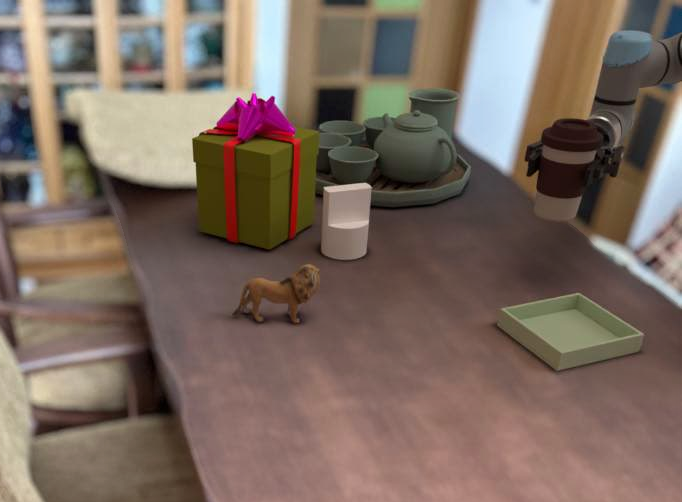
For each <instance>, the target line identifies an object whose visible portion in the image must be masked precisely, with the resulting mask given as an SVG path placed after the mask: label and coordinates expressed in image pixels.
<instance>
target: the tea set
mask: <svg viewBox="0 0 682 502" xmlns="http://www.w3.org/2000/svg"><path fill="white" fill-rule="evenodd" d="M408 99H409V100H410V109H409V112H404V113H401V114H399V115H397V116H396V117H394V116H393V117H392V116H390V115H389V113H388V112H385V113H384V114H383V115H382V116H374V117H369V118H366V119H364V120H363V121H362V123H359V122H358V121H351V120H330V121H325V122H323V123H320V124H319V126H318V129H319V130H318V131H319V154H318V155H317V156H316V182H315V194H318V195H321V196H323V194H324V187H330V186H339V185H349V184H358V183H367V184H369V185H370V186H371V187H372V190H371V202H370V206H373V207H385V208H399V207H401V208H402V207H410V206H411V207H412V206H422V205H432V204H435V203H438V202H441V201H444V200H446V199H449V198H452V197H455V196H457V195H460V194H461V193H462V192H463V190H464V187H465V185H466V184H467V182H468V180H469V178H470V176H471V172H472V166H471V165H470V164H469V163H468V162H467V161H466V160H465V159H464V158H463V157H462V156H461V155H460V154H459V153H457V149H456V145H455V144H454V142H453V139H452V138H453V133H454V125H455V119H456V111H457V104H458V101H459V100H460V99H461V95H460V93H459V92H457V91H454V90H451V89H446V88H438V87H437V88H436V87H424V88H417V89H413V90H411V91H410V92H409V96H408ZM364 134H365V137H364Z"/></svg>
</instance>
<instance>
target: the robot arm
mask: <svg viewBox="0 0 682 502" xmlns="http://www.w3.org/2000/svg"><path fill="white" fill-rule="evenodd" d="M681 82H682V31H681V32H679V33H676V34H675V35H673V36H671V37H668V38H665V39H658V40H653V36H652V35H651V34H650V33H648V32H646V31H642V30H617V31H615V32H613V33H612V34H611V35H610V36H609V38H608V41H607V45H606V49H605V52H604V55H603V56H602V63H601V67H600V72H599V76H598V80H597V85H596V89H595V94H594V98H593V100H592V105H591V109H590V113H589V116H588V118H586V119H585V120H588V121H590V122H593V123H595V125H596V127H597V131H598V132H600V133H601V134H602V135H603V137H604V139H603V143H602V146H601V148H600V149H598V150H597V151H596V154H595V157H594V158H595V161H594V162H593V163H592V164H591V165H590V166H589V167H588V168H587V169H586V173H585V177H584V181H583V185H582V187H586V188H588V186H590V185H591V184H592V183H593V182H594V180H595V179H597V180H599V179H601V178H603V177H605V176H606V175H609V177H610V178H616V177H618V173H619V169H620V166H621V163H622V161H623V157H624V154H625V150H626V146H624V145H619V144H620V143H622V142H623V141H624V140H625V139H626V138H627V136H628V135H629V134H630V132H631V130H632V128H633V125H634V120H635V116H634V115H635V114H634V109H635V105H636V102H637V97H638V94H639V91H640V89H643V88H650V87H655V86H656V87H657V86H663V85H669V84H671V85H672V84H679V83H681ZM543 145H544V144H542V142H541V139H540V140H538V141H535V142H532V143H531V144H527V146H526V150H525V155H524V162H527V171H526V176H525V177H527V178H531V177H532V176H533V175H534V174H536V173H538V170H539V163H540V156H541V153H542V152H543ZM617 145H619V146H617Z"/></svg>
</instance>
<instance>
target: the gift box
mask: <svg viewBox="0 0 682 502" xmlns="http://www.w3.org/2000/svg"><path fill="white" fill-rule="evenodd" d="M275 101H276V96H274V95H271V96H270V97H269V98H268V99H267V100H265V99H264V98H261V97H258V96H257V93H256V92H252V94H251V97H250V99H249V100H247V102H246V101H245V100H243V99H242V98H241V97H240V96H237V97H236V98H235V101H234V103H232V105H231V106H230V107H229V108H228V109H227V110H226V111H225V113H224V114H223V115H222V116H221V117H220V118H219V119H218V121H217V122H215V123H216V124H215V125H216V126H214V127H213V128H209V129H206V130H204V131H201V132H199V134H198V135H197V136H195V137H193V138H192V139H191V143H192V159H193V160H192V161H193V163H195V179H196V181H195V182H196V198H197V217H198V218H197V219H198V231H199V232H201V233H204V234H209V235H212V236H216V237H220V238H224V239H227V241H228V242H231V243H235V244H241V243H243V244H246V245H250V246H253V247H258V248H262V249H265V250H272V249H273V248H275V247H277V246H279V245H280V244H282V243H283V242H285V241H290V240H291V239H293V238H295V237H296V235H297V234H298V233H299V232H301V231H302V230H304V229H306V228H307V227H309V226H310V225H312V224H314V223H315V207H316V205H315V204H316V192H315V182H316V156H317V155H318V154H319V133H320V130H315V129H309V128H304V127H299V126H294V125H293V124H292V123H291V122H290V120H289V119H288V118H287V117H286V116H285V114H284V113H283V111H282V110H281V109H280V108H279V106H278V105H277V104H276V103H275Z"/></svg>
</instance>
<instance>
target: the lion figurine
mask: <svg viewBox="0 0 682 502" xmlns="http://www.w3.org/2000/svg"><path fill="white" fill-rule="evenodd" d="M320 280H321V279H320V269H319V268H317V267H316V266H315V265H313V264H310V263H308V264H307V263H306V264H303V265H302V266H299V268H298V270H297V271H296V272H294V273H293V274H290V275H289V276H288V277H285V279H283V280H281V281H274V280H269V279H266V278H263V277H255V278H252V279H249V280H248V281H247V282H246V283H245V285H244V287H243V289H242V292H241V297H240V299H239V300H240V301H239V305H238V307H237V309H235V310H234V312H232V313H231V315H232V316H237V315H238V314H239V313H240V312H241V311H242V312H243V314H249V313H250V312H251V313H252V314H253V316H254V318H255V321H256V322H258V323H262V322H264V317H263V316H260V315H259V311H258V310H259V308H260V305H261V303H262V299H263V298H264V299H266V300H267V301H268V302H270V303H272V304H277V305H282V304H287V313H288V315H289V316H290V319H291V322H293V324H299V323H300V318H299V317H297V314H298V309H299V305H301V304H307V303H308V301H310V300H311V297H312V296H314V295H315V293H317V291H318V289H319V286H320V283H321V281H320ZM248 291H249V292H248ZM247 292H248V294H247ZM250 303H252V308H251V309H250V308H249V307H248V305H249V304H250Z"/></svg>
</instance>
